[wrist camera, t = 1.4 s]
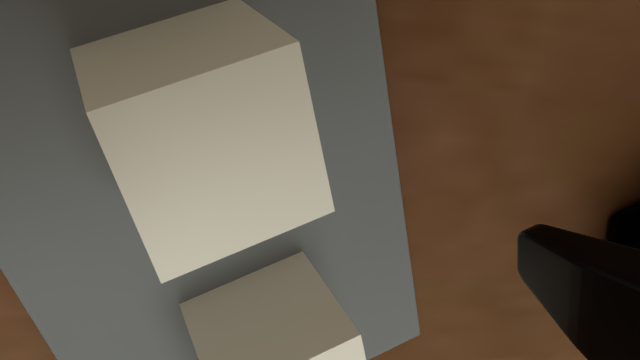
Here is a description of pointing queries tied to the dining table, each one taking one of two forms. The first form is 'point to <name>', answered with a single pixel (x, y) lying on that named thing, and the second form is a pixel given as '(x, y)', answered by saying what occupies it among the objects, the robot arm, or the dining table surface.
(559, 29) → the dining table surface
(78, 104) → the mat
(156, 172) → the plain block
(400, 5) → the dining table surface
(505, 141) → the dining table surface
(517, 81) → the dining table surface
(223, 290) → the block one
